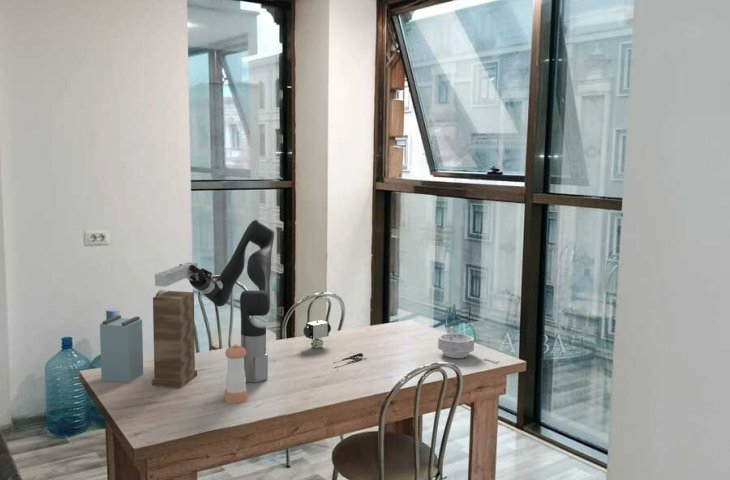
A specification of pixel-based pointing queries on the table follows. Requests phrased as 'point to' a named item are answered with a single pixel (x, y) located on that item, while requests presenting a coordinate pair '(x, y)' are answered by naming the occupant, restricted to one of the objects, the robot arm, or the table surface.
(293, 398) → the table surface
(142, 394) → the table surface
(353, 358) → the hacksaw
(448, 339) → the grey stone bowl
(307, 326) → the pneumatic valve
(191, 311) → the tall stand
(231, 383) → the pepper shaker
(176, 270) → the steel bar
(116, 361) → the blue grey angular block
